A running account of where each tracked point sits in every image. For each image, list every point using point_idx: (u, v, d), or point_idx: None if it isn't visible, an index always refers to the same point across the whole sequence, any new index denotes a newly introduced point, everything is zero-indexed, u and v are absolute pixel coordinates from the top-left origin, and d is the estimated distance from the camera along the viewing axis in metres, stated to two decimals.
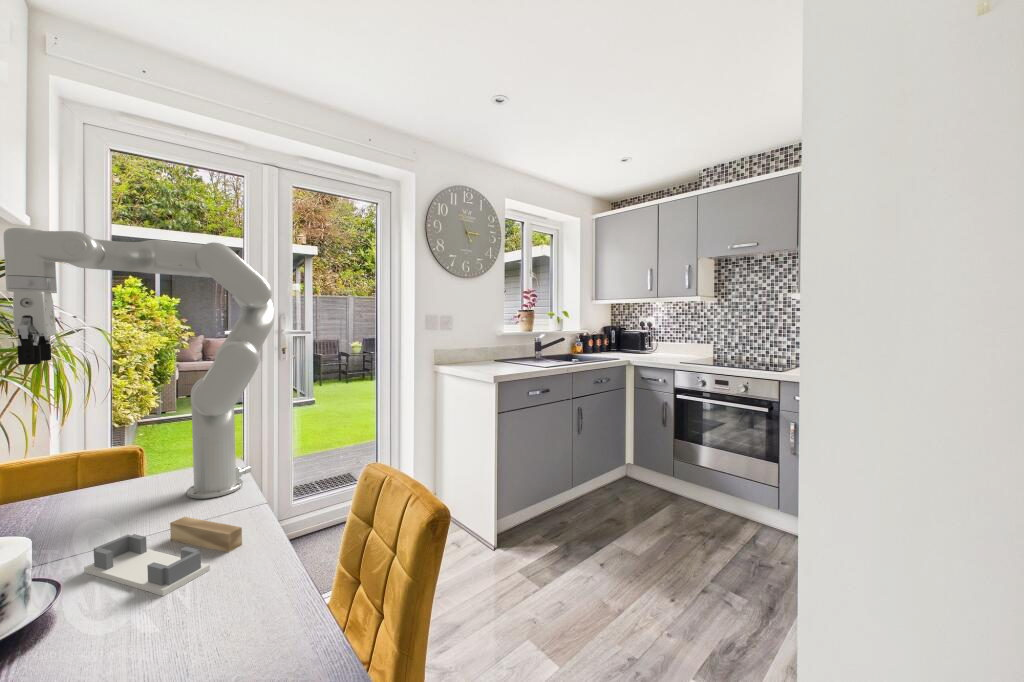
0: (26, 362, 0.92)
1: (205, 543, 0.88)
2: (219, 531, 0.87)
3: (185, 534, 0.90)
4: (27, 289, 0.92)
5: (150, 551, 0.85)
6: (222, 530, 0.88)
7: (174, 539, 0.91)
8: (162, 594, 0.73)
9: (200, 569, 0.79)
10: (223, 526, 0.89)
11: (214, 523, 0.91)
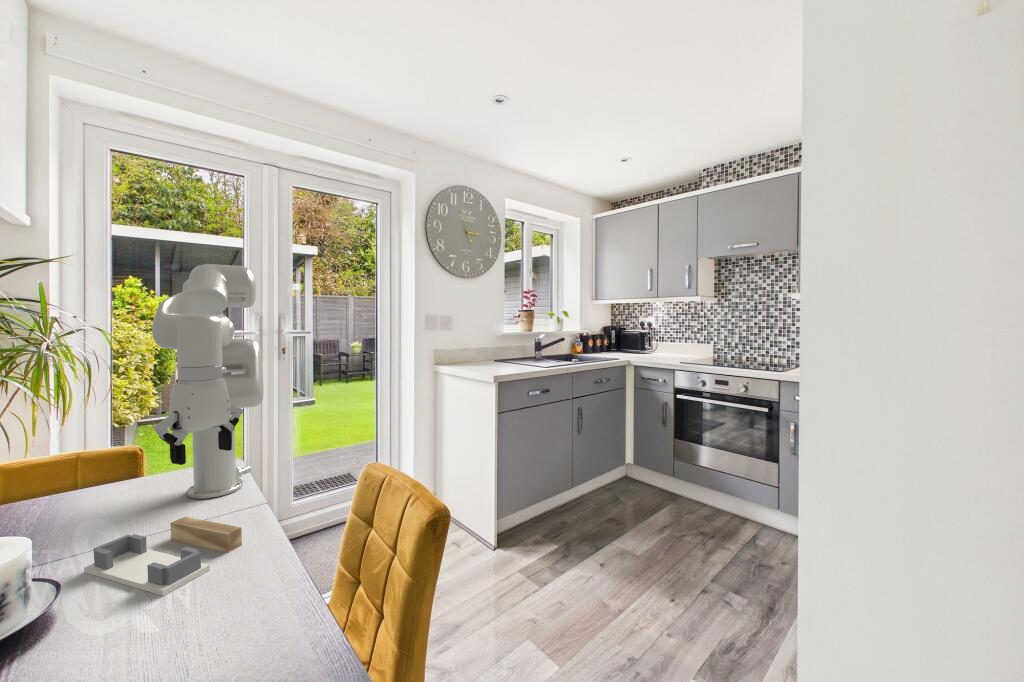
0: None
1: (205, 543, 0.88)
2: (219, 531, 0.87)
3: (185, 534, 0.90)
4: None
5: (150, 551, 0.85)
6: (222, 530, 0.88)
7: (174, 539, 0.91)
8: (162, 594, 0.73)
9: (200, 569, 0.79)
10: (223, 526, 0.89)
11: (214, 523, 0.91)
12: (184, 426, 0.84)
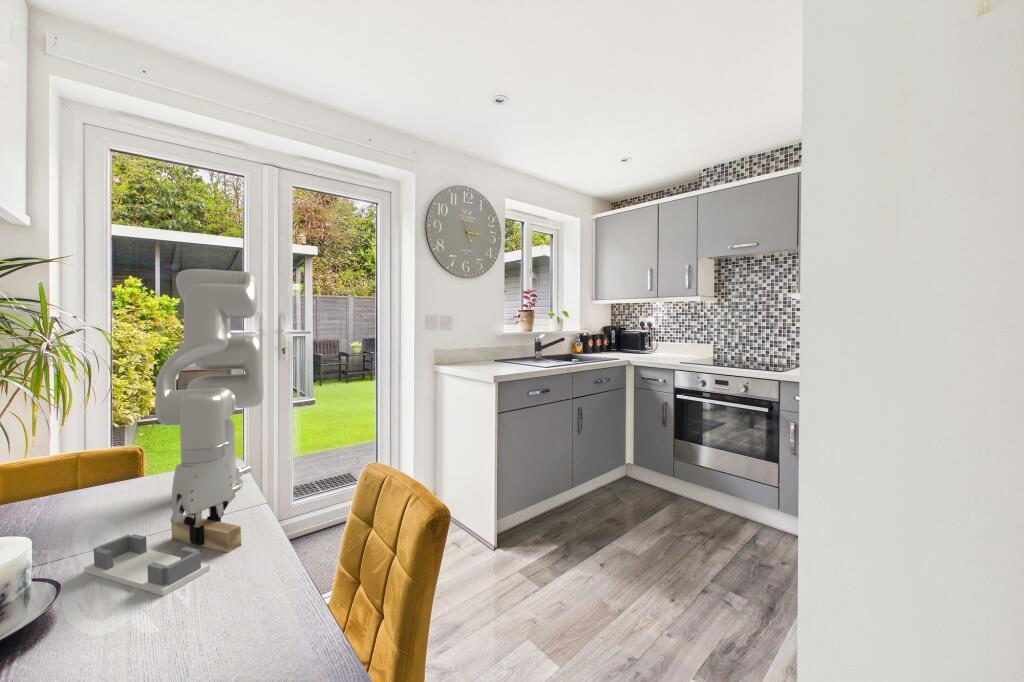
0: None
1: (205, 542, 0.88)
2: (218, 530, 0.87)
3: (185, 532, 0.90)
4: None
5: (150, 551, 0.85)
6: (221, 529, 0.88)
7: (175, 537, 0.91)
8: (162, 594, 0.73)
9: (200, 569, 0.79)
10: (222, 525, 0.89)
11: (214, 521, 0.91)
12: (187, 509, 0.85)
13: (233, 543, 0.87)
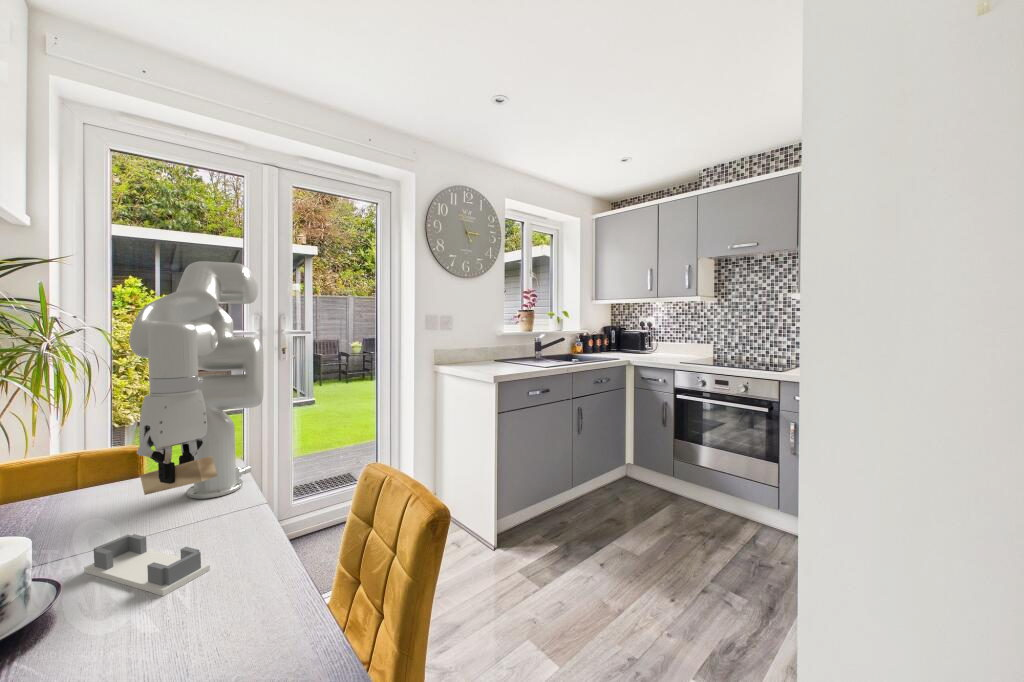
0: None
1: (177, 481, 0.82)
2: (188, 462, 0.81)
3: (156, 481, 0.84)
4: None
5: (150, 551, 0.85)
6: (192, 461, 0.82)
7: (147, 491, 0.85)
8: (162, 594, 0.73)
9: (200, 569, 0.79)
10: None
11: None
12: (156, 441, 0.79)
13: (207, 472, 0.81)
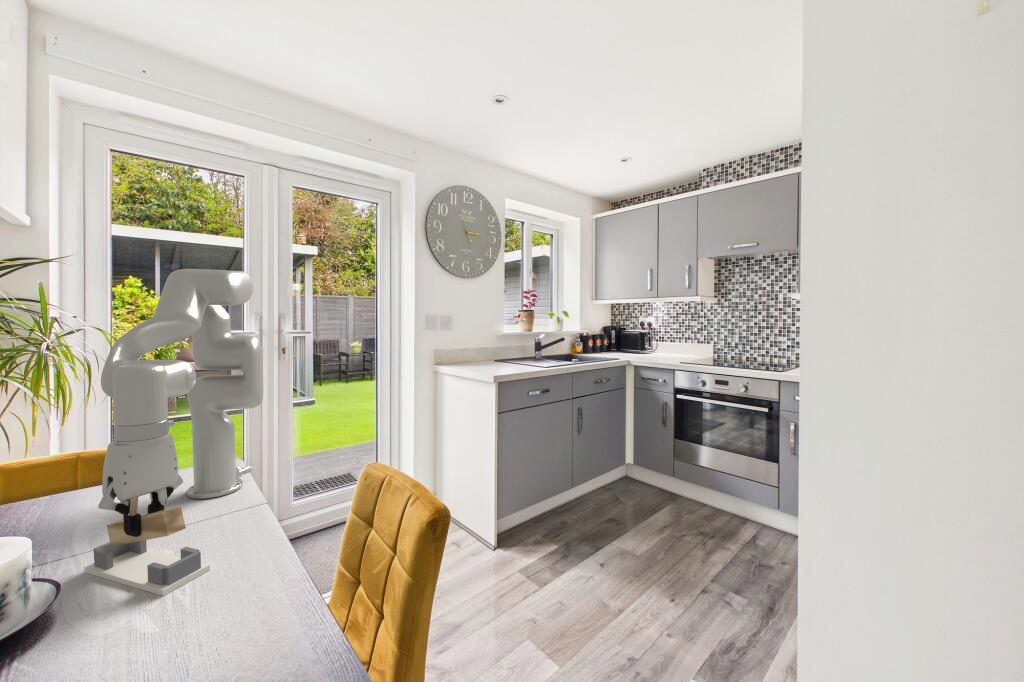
0: None
1: (144, 534, 0.77)
2: (154, 514, 0.76)
3: (123, 532, 0.79)
4: None
5: (150, 551, 0.85)
6: (158, 513, 0.77)
7: (114, 542, 0.79)
8: (162, 594, 0.73)
9: (200, 569, 0.79)
10: (161, 511, 0.78)
11: (153, 512, 0.80)
12: (119, 494, 0.74)
13: (174, 525, 0.76)
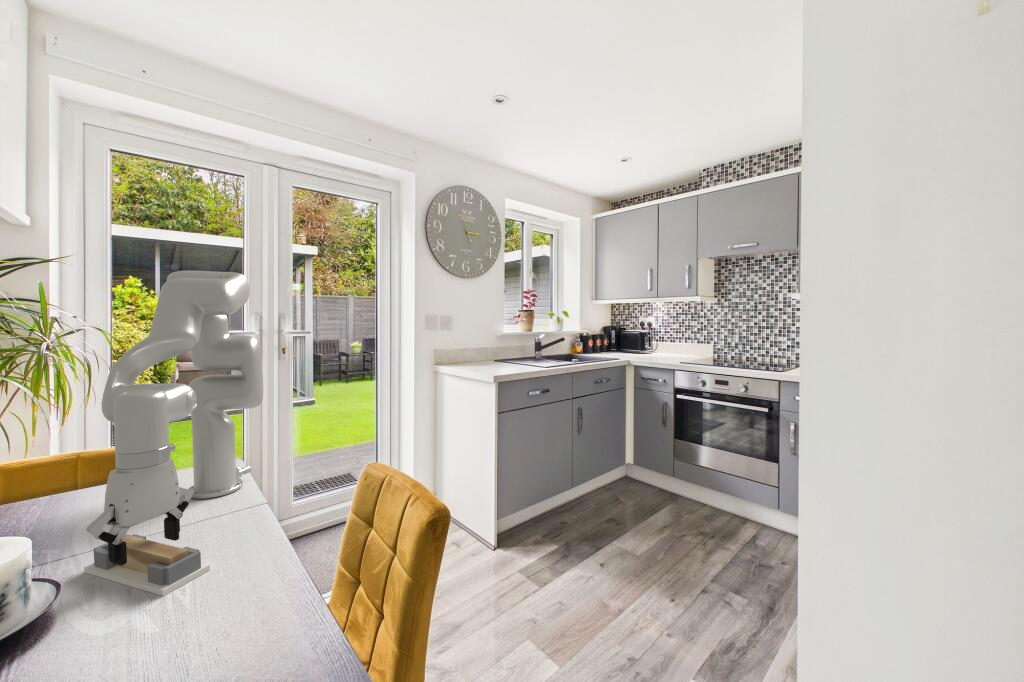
0: None
1: (146, 568, 0.77)
2: (161, 554, 0.76)
3: None
4: None
5: None
6: (165, 553, 0.77)
7: None
8: (162, 594, 0.73)
9: (200, 569, 0.79)
10: (167, 548, 0.78)
11: (159, 544, 0.80)
12: (121, 521, 0.74)
13: None
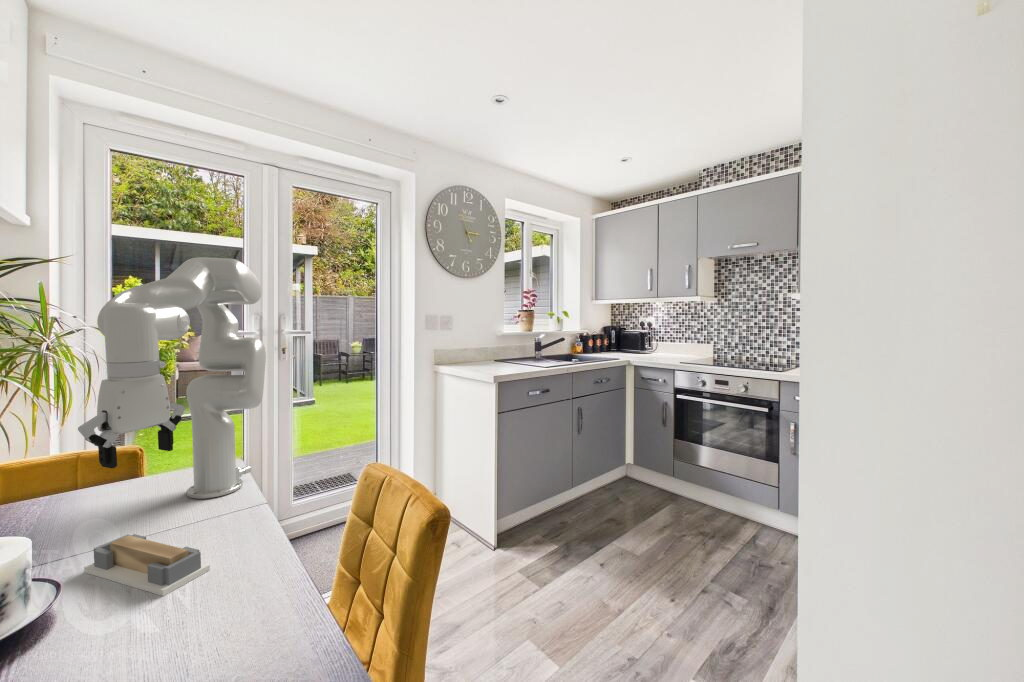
0: None
1: (146, 568, 0.77)
2: (161, 554, 0.76)
3: (125, 557, 0.79)
4: None
5: None
6: (165, 553, 0.77)
7: (114, 562, 0.80)
8: (162, 594, 0.73)
9: (200, 569, 0.79)
10: (167, 548, 0.78)
11: (159, 544, 0.80)
12: (114, 427, 0.77)
13: None
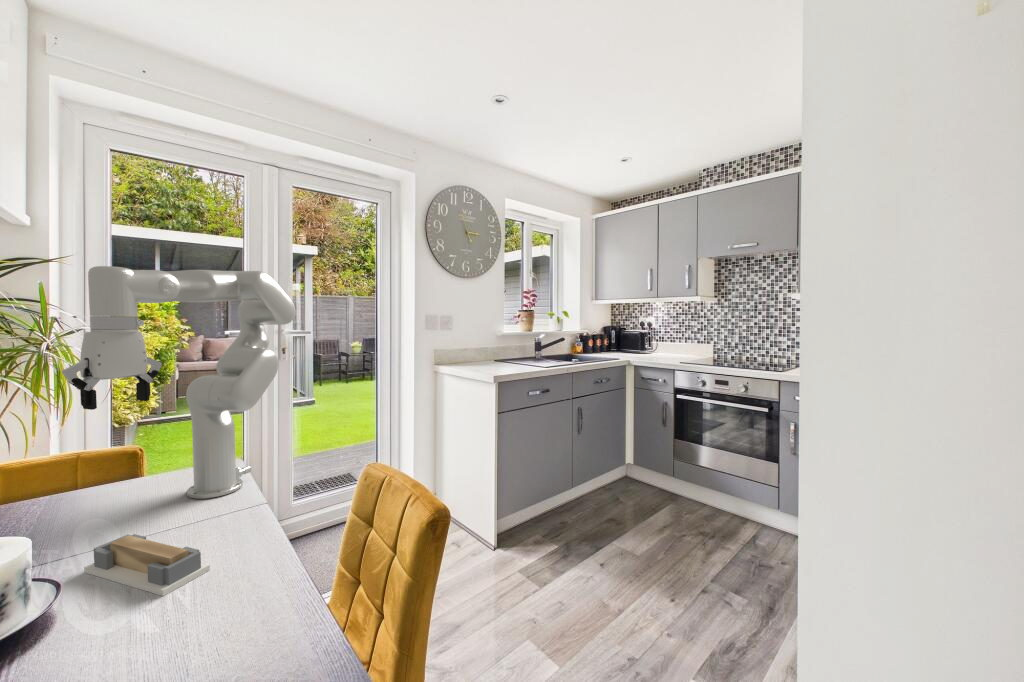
0: None
1: (146, 568, 0.77)
2: (161, 554, 0.76)
3: (125, 557, 0.79)
4: None
5: None
6: (165, 553, 0.77)
7: (114, 562, 0.80)
8: (162, 594, 0.73)
9: (200, 569, 0.79)
10: (167, 548, 0.78)
11: (159, 544, 0.80)
12: (94, 372, 0.87)
13: None
